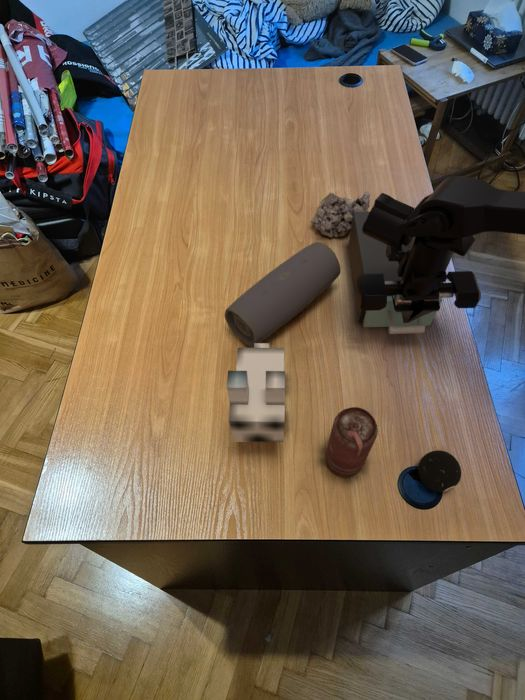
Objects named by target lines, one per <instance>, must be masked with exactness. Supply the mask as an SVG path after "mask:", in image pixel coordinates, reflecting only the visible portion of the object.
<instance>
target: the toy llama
mask: <svg viewBox="0 0 525 700" xmlns="http://www.w3.org/2000/svg"><path fill="white" fill-rule="evenodd" d="M235 366H236V368H235V370H227V377H226V378H227V380H226V390H227V396H228V401H229V414H228V416H229V417H228V424H229V428H230V433H231V437H232V440H233V443H235V442H237V443H240V442H241V443H285V401H286V399H285V398H286V371H285V347H270V343H269V342H259V343H254V346H253V347H237V351H236V365H235Z"/></svg>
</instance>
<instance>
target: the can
mask: <svg viewBox="0 0 525 700" xmlns="http://www.w3.org/2000/svg"><path fill="white" fill-rule="evenodd" d="M378 433H379V431H378V424H377V421H376V419H375V417H374V416H373V415H372V414H371V412H370V411H367V410H366V409H365V408H361V407H358V406H351V407H348V408H344V409H343V410H340V411H339V412H338V413H337V415H335V417H334V419H333V422H332V427H331V430H330V434H329V437H328V441H327V445H326V446H327V447H326V450H325V454H324V457H325V463H326V466H327V468H328V469H329V470H330V472H332V473H333V474H334V475H336V476H338V477H341V478H351V477H354V476H356V475H357V474H359V473H360V472H361V470H362V468H363V467H364V465H365V463H366V461H367V459H368V456H369V455H370V453H371V450H372V448H373V446H374V443H375V442H376V439H377V437H378Z"/></svg>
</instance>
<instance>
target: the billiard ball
mask: <svg viewBox="0 0 525 700" xmlns="http://www.w3.org/2000/svg"><path fill="white" fill-rule="evenodd" d="M417 472H418V476H419V479H420V481H421V482H422V483H423V485H424V486H425V487H426V488H427V489H430V490H431V491H434V492H437V493H441V492H442V493H443V492H447V491H451V490H452V489H454V488H455V487H457V486H458V484H459V483H460V481H461V478H462V468H461V465H460V463H459V461H458V459H457V458H456V457H455V456H454V455H453V454H451V453H450V452H448V451H446V450H442V449H441V450H440V449H437V450H432V451H429V452H427V453H426V454H424V455H423V456H422V457H421V458H420V460H419V462H418V465H417Z"/></svg>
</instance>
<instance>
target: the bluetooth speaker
mask: <svg viewBox="0 0 525 700" xmlns="http://www.w3.org/2000/svg"><path fill="white" fill-rule="evenodd" d="M340 274H341V264H340V262H339V259H338V257H337V255H336V253H335V252H334V251H333V249H332V247H331V248H330V246H328V245H327V244H325V243H323V242H321V241H317V242H316V241H315V242H313V243H311V244H309V245H307V246H305V247H304V248H302V249H300V250H299V251H298V252H296V253H295V254H293V255H291V256H290V257H289V258H287V259H286V260H284V261H283V262H282V263H280V264H279V265H278V266H276V267H275V268H273V270H271V271H270V272H269V273H267V274H265V276H263V277H262V278H261V279H260V280H258V281H257V282H255V284H253V285H252V286H251V287H249V288H248V289H247V290H246V291H245V292H243V294H241V295H240V296H239V297H238V298H236V299H235V300H234V301H233V302H232V303H231V304H229V306H228V307H227V308H226V309H225V311H224V319H225V322H226V324H227V326H228V327H229V329H230V330H231V332H232V333H233V334H234V335H235V336H236V337H237V338H238V339H240V340H241V341H242V342H243V343H244V344H245V345H246V346H248V347H254V343H262V342H263V341H264V340H266V339H267V338H268V337H270V336H271V335H272V334H274V333H275V332H276V331H278V330H279V329H280V328H282V327H283V326H284V325H286V324H287V323H288V322H290V321H291V320H292V319H294V318H295V317H296V316H298V315H299V314H300V313H301V312H302V311H304V310H305V309H306V308H307V307H308V306H309V305H310V304H311V303H312V302H313V301H314V300H315V299H317V298H318V297H319V296H320V295H321V294H322V293H323V292H324V291H325V290H326V289H328V288H329V287H330V286H331V285H332V284H333V283H334V282H335V281H336V280H337V278H339V276H340Z"/></svg>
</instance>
